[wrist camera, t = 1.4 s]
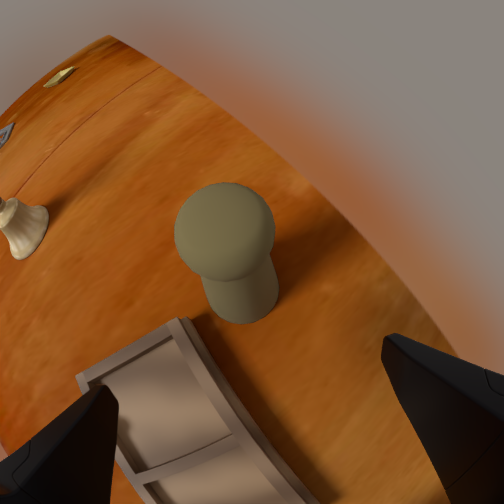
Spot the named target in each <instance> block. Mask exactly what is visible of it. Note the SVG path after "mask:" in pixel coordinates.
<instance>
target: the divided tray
mask: <svg viewBox="0 0 504 504" xmlns="http://www.w3.org/2000/svg"><path fill="white" fill-rule="evenodd" d="M75 377H76V379H77V382H78V385H79V387H80V390H81V392H82V394H83V395H84V394H85V393H86V392H87V391H88V390H90V389H91V388H92V387H93V386H94V385H97V384H105V385H107V386H108V387H109V388H110V390H111V391H112V393H113V394H114V396H115V397H116V399H117V400H118V403H119V415H118V431H117V445H116V452H115V460H116V461H117V463H118V465H119V466H120V468H121V469H122V471H123V472H124V474H125V475H126V477H127V478H128V480H129V481H130V483H131V484H132V486H133V487H134V489H135V490H136V491H137V493H138V494H139V496H140V497H141V498H142V500H143V501H144V502H145V504H321V503H320V502H319V501H318V500H317V499H316V498H315V497H314V496H313V494H312V493H311V492H310V491H309V490H308V489H307V488H306V486H305V485H304V484H303V483H302V482H301V481H300V479H299V478H298V477H297V476H296V475H295V473H294V472H293V471H292V470H291V469H290V467H289V466H288V465H287V464H286V462H285V461H284V460H283V459H282V457H281V456H280V455H279V453H278V452H277V451H276V450H275V448H274V447H273V446H272V444H271V443H270V442H269V440H268V439H267V438H266V436H265V435H264V434H263V432H262V431H261V429H260V428H259V427H258V425H257V424H256V423H255V421H254V420H253V418H252V417H251V415H250V414H249V413H248V411H247V410H246V408H245V407H244V405H243V404H242V402H241V401H240V399H239V398H238V397H237V395H236V393H235V392H234V390H233V389H232V387H231V386H230V384H229V383H228V381H227V380H226V378H225V377H224V375H223V373H222V372H221V370H220V369H219V367H218V365H217V364H216V362H215V361H214V359H213V357H212V356H211V354H210V352H209V351H208V349H207V347H206V346H205V344H204V342H203V341H202V339H201V337H200V335H199V334H198V332H197V330H196V328H195V327H194V325H193V323H192V321H191V320H190V319H189V318H188V317H184V318H183V319H179V318H178V317H175V318H174V319H172V320H170V321H169V322H167V323H165V324H164V325H162V326H160V327H159V328H157V329H155V330H154V331H152V332H150V333H149V334H147V335H145V336H143V337H142V338H140V339H138V340H137V341H135V342H133V343H131V344H130V345H128V346H126V347H125V348H123V349H121V350H119V351H118V352H116V353H114V354H113V355H111V356H109V357H107V358H106V359H104V360H102V361H100V362H99V363H97V364H95V365H93V366H92V367H90V368H88V369H86V370H85V371H83V372H81V373H79V374H78V375H76V376H75Z"/></svg>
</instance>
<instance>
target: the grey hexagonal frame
mask: <svg viewBox="0 0 504 504" xmlns="http://www.w3.org/2000/svg"><path fill="white" fill-rule="evenodd" d="M13 126H14V122H13V123H12V124H10V125H8V126H7V127H5V128H3V129H2V130H0V136H1V135H3V134H4V136H3V138H2V140H1V138H0V141H1V143H0V149H1V147H2V146H3V145H4V144H5V143H6V142H7V141H8V138H9V136H10V133H11V131H12V128H13Z"/></svg>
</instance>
